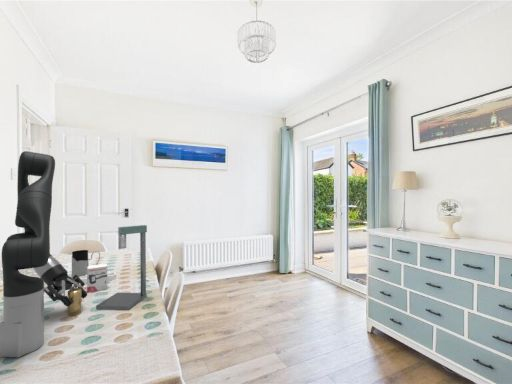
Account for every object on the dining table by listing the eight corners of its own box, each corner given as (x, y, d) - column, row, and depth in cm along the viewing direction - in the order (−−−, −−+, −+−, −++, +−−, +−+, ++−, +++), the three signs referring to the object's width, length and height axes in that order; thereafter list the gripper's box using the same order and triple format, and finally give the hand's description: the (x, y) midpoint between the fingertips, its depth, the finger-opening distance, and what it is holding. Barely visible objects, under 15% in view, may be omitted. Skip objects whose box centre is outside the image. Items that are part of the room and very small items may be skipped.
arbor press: (131, 310, 104) (130, 229, 104) (96, 309, 105) (95, 229, 105) (149, 295, 119) (149, 225, 119) (118, 295, 120) (118, 225, 120)
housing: (75, 316, 99) (75, 289, 99) (64, 315, 100) (64, 289, 100) (84, 310, 104) (84, 285, 104) (73, 310, 104) (73, 285, 104)
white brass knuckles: (117, 275, 152) (115, 282, 139) (80, 279, 145) (75, 287, 131) (117, 269, 152) (115, 276, 139) (80, 273, 145) (75, 281, 131)
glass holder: (69, 277, 147) (69, 251, 147) (98, 272, 156) (98, 247, 156) (71, 281, 140) (71, 253, 140) (101, 275, 149) (101, 249, 150)
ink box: (87, 293, 123) (87, 268, 123) (87, 290, 127) (87, 266, 127) (107, 289, 128) (107, 265, 128) (107, 286, 132) (106, 263, 132)
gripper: (40, 269, 95) (69, 301, 94) (71, 259, 110) (97, 287, 109) (27, 283, 96) (56, 315, 95) (59, 271, 110) (85, 299, 109)
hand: (78, 300), depth 102 cm, fingers open, 7 cm apart
